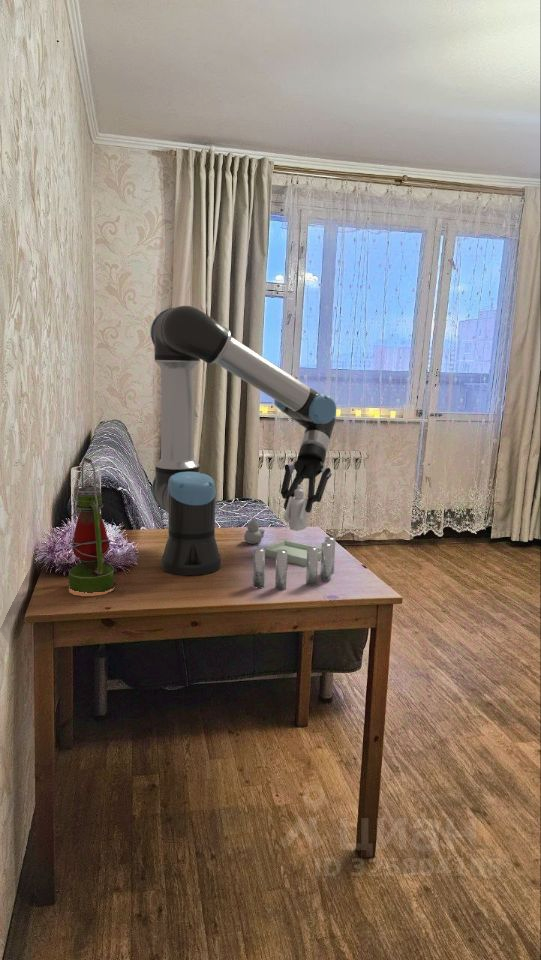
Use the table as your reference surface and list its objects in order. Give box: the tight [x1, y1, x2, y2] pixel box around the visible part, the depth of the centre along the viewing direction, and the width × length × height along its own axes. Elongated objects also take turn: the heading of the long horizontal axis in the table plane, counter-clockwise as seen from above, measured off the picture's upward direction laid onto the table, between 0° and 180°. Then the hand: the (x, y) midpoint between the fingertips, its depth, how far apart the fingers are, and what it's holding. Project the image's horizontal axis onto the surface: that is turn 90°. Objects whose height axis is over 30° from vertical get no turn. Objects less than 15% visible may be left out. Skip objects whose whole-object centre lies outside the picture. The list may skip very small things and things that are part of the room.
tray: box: [263, 539, 322, 567], centre depth 172 cm, size 14×11×2 cm
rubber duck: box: [243, 516, 266, 545], centre depth 183 cm, size 5×7×8 cm
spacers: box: [252, 536, 336, 591], centre depth 151 cm, size 7×23×9 cm, turn 122°
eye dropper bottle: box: [289, 484, 308, 532], centre depth 170 cm, size 4×6×12 cm
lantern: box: [68, 457, 116, 593], centre depth 142 cm, size 14×11×30 cm
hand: (293, 520), depth 167 cm, fingers closed on eye dropper bottle, 3 cm apart
